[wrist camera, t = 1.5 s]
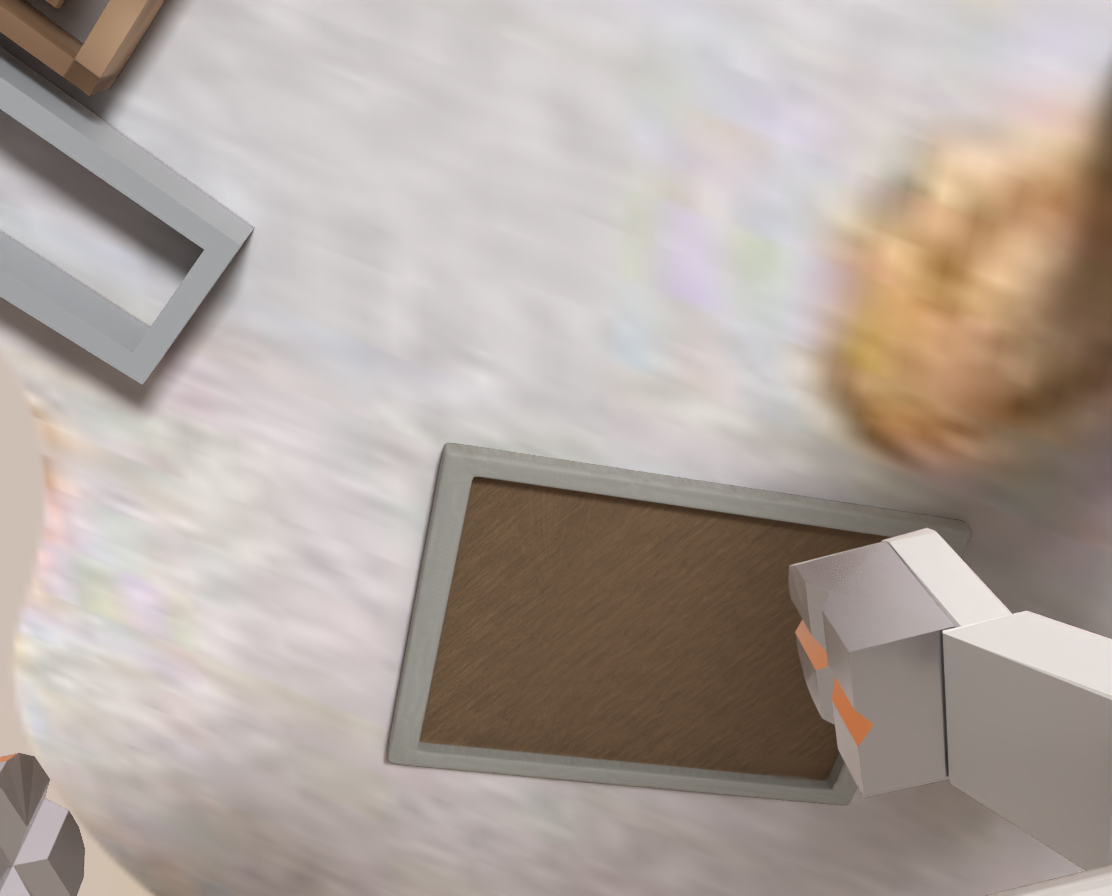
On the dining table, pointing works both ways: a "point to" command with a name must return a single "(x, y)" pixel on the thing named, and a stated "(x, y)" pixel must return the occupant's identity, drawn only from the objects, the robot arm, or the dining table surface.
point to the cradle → (145, 181)
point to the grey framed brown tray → (623, 628)
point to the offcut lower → (56, 3)
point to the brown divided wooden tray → (69, 57)
